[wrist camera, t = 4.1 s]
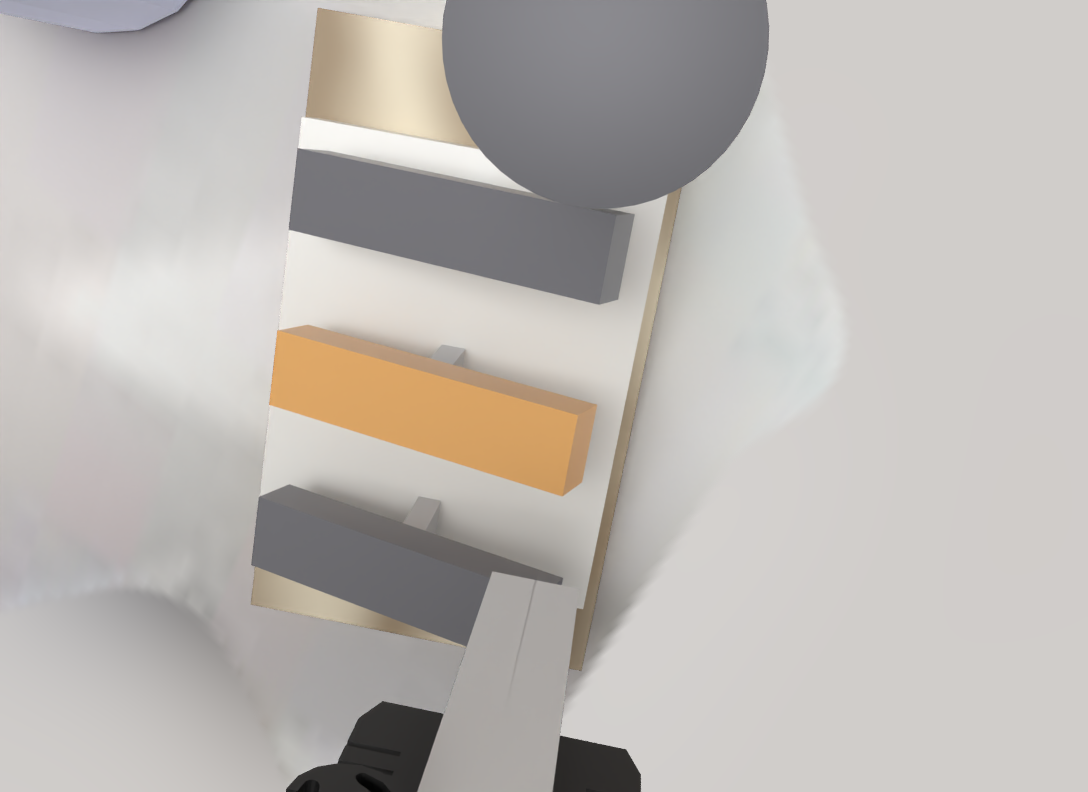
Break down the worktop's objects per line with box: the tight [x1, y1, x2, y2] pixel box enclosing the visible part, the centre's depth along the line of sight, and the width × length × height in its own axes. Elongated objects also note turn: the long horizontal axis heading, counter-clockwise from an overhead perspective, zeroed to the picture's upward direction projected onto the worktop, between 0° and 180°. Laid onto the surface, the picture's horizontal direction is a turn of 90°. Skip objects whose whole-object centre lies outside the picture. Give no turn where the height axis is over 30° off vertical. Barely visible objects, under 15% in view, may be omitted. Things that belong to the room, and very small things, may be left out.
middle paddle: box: [269, 325, 597, 496], centre depth 31 cm, size 10×2×2 cm, turn 79°
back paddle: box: [251, 484, 563, 647], centre depth 32 cm, size 10×2×2 cm, turn 79°
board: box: [251, 8, 682, 671], centre depth 37 cm, size 13×22×2 cm, turn 170°
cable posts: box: [442, 0, 769, 209], centre depth 25 cm, size 3×22×24 cm, turn 170°
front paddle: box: [289, 148, 635, 305], centre depth 29 cm, size 10×2×2 cm, turn 79°
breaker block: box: [259, 117, 668, 609], centre depth 34 cm, size 12×15×5 cm
